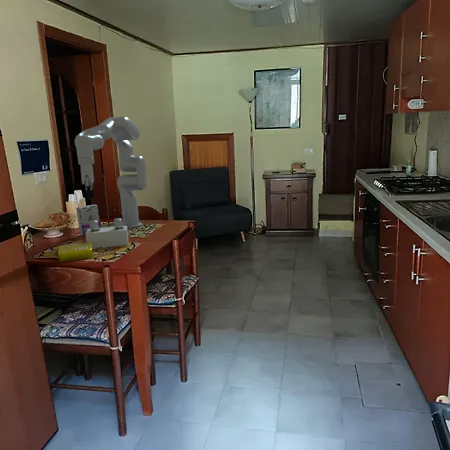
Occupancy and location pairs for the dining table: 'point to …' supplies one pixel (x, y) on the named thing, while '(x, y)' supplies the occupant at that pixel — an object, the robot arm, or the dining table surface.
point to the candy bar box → (87, 217)
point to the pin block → (107, 237)
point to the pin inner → (118, 223)
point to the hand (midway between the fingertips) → (90, 197)
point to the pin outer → (94, 225)
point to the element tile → (75, 252)
